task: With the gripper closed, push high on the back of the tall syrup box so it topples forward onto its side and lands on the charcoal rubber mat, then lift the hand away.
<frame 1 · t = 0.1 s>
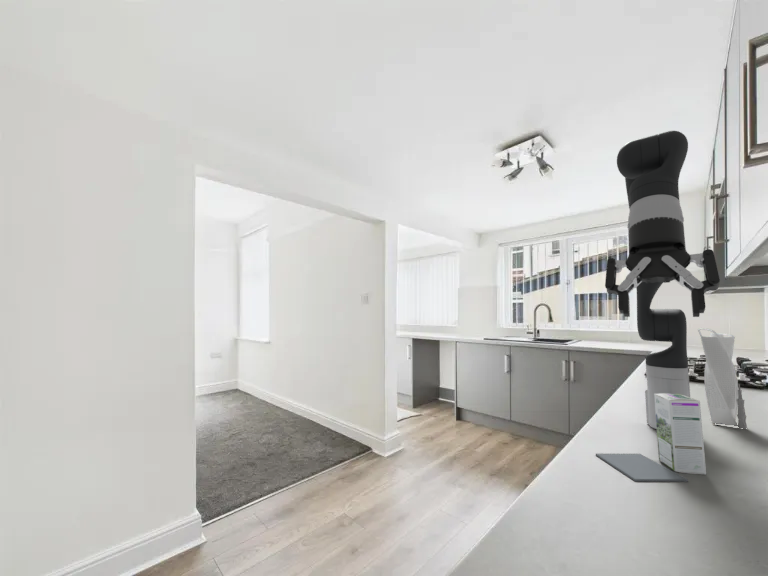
hand: (659, 315, 53), 31 cm above the table, tool tilted 20°, fingers open, 8 cm apart
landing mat: (637, 467, 70), on the table
syrup box: (681, 468, 70), on the table
skyscraper: (724, 425, 99), on the table
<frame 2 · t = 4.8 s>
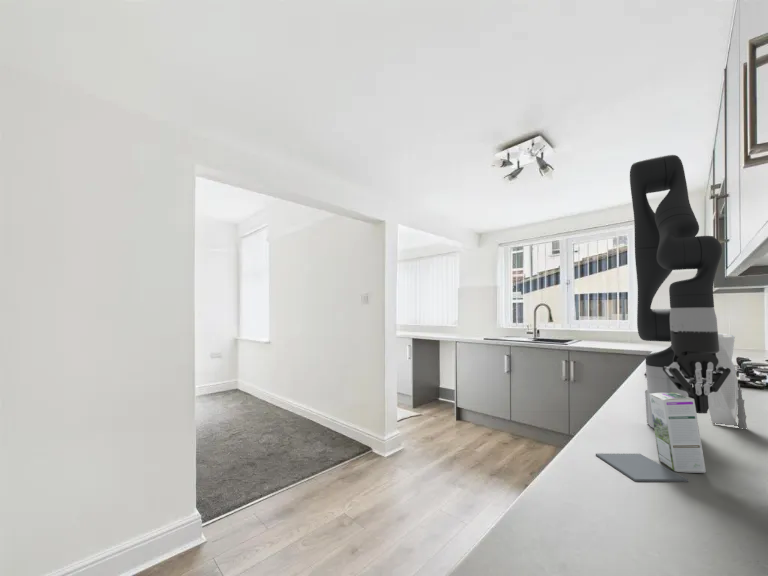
hand: (699, 412, 71), 11 cm above the table, tool pointing down, fingers closed
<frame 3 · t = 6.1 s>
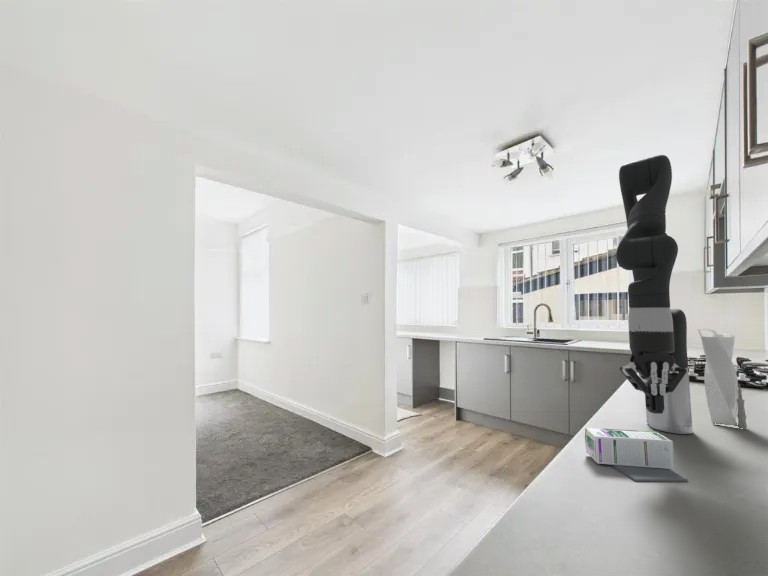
hand: (655, 412, 71), 11 cm above the table, tool pointing down, fingers closed
syrup box: (666, 450, 71), point 3 cm above the table, touching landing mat
everything else where it was.
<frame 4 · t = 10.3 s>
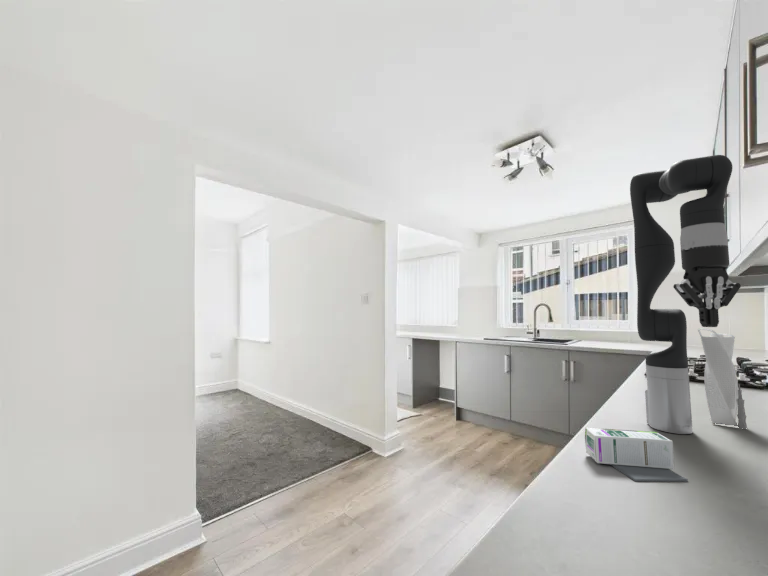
hand: (709, 326, 73), 29 cm above the table, tool pointing down, fingers closed
nothing on the table moved.
at the end: syrup box tilted 89°; syrup box touching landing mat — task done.
